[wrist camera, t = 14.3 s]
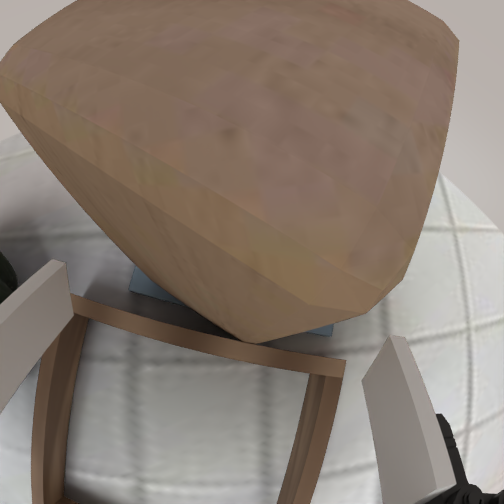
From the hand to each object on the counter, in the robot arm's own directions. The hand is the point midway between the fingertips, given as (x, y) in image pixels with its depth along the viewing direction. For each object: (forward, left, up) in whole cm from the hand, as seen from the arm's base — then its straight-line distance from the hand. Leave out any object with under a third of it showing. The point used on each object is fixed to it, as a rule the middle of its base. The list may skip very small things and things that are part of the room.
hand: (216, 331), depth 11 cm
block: (-1, +6, -11) cm, 13 cm away
